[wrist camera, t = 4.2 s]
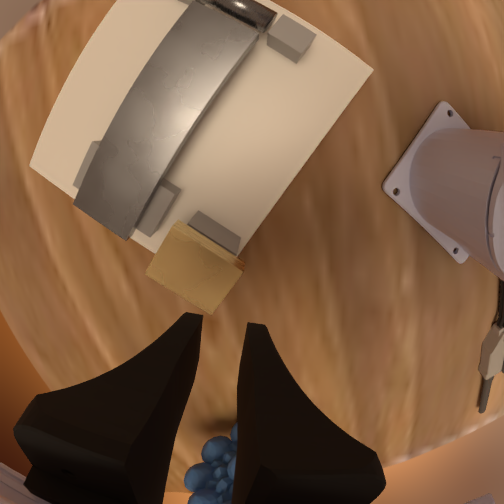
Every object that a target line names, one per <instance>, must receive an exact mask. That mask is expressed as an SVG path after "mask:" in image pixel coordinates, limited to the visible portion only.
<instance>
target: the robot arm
mask: <svg viewBox="0 0 504 504" xmlns="http://www.w3.org/2000/svg"><path fill="white" fill-rule="evenodd" d="M448 111H449V112H450V117H449V116H448V114H447V112H448ZM382 188H383V191H384V192H385V193H386V194H387V195H388V196H390V197H391V198H392V199H393V200H394V201H395V202H396V203H397V204H399V205H400V206H401V207H402V208H403V209H404V210H405V211H406V212H407V213H408V214H409V215H410V216H412V217H413V218H414V219H415V220H416V221H417V222H418V223H419V224H420V225H421V226H422V227H423V228H424V229H425V230H426V231H427V232H428V233H429V234H430V235H431V236H432V237H433V238H434V239H435V240H436V241H437V242H438V243H439V244H440V245H441V246H442V247H443V248H444V249H445V250H446V251H447V252H448V253H449V254H450V255H451V256H452V257H453V258H454V259H455V260H456V261H457V262H458V263H459V264H462V263H464V262H465V261H466V259H467V258H468V257H469V255H470V256H471V257H472V258H474V259H475V260H476V261H478V262H479V263H481V264H482V265H483V266H485V267H486V268H487V269H489V270H490V271H491V272H492V273H494V274H495V275H496V276H498V277H499V278H500V279H501V280H503V281H504V132H498V131H488V130H475V129H470V127H469V126H468V125H467V124H466V123H465V121H464V120H463V119H462V118H461V117H460V116H459V115H458V113H457V112H456V111H455V110H454V109H453V108H452V107H451V106H450V105H449V103H447V102H445V101H442V102H439V103H438V104H437V106H436V107H435V109H434V111H433V112H432V114H431V115H430V117H429V118H428V120H427V121H426V122H425V124H424V125H423V127H422V128H421V130H420V131H419V133H418V134H417V136H416V137H415V139H414V140H413V141H412V143H411V144H410V146H409V147H408V149H407V150H406V151H405V153H404V154H403V156H402V157H401V159H400V160H399V161H398V163H397V164H396V166H395V167H394V168H393V170H392V171H391V172H390V174H389V175H388V177H387V178H386V179H385V181H384V182H383V185H382ZM395 188H397V189H398V192H397V194H396V195H394V194H393V190H394V189H395ZM454 248H456V250H455V251H454V252H453V250H454ZM202 320H203V315H200V314H194V313H188V312H186V313H184V314H183V315H182V316H181V317H180V318H179V319H178V320H177V321H176V322H175V323H174V324H173V325H172V326H171V327H170V328H169V329H168V330H167V331H166V332H165V333H163V334H162V335H161V336H160V337H159V338H158V339H157V340H155V341H154V342H153V343H152V344H150V345H149V346H148V347H146V348H145V349H144V350H143V351H141V352H140V353H139V354H137V355H136V356H134V357H133V358H131V359H130V360H128V361H127V362H125V363H123V364H122V365H120V366H118V367H116V368H114V369H113V370H111V371H109V372H106V373H104V374H102V375H100V376H98V377H96V378H94V379H91V380H88V381H86V382H83V383H80V384H77V385H74V386H71V387H68V388H65V389H61V390H56V391H52V392H48V393H44V394H38V395H36V396H35V398H34V399H33V400H32V401H31V403H30V404H29V405H28V407H27V408H26V410H25V411H24V413H23V414H22V416H21V417H20V419H19V421H18V422H17V423H16V425H15V427H14V428H13V431H14V436H15V439H16V440H17V442H18V444H19V446H20V447H21V449H22V450H23V452H24V453H25V455H26V456H27V458H28V459H29V461H30V462H31V464H32V465H33V466H32V468H31V470H30V472H29V473H28V476H27V477H25V476H23V475H21V474H19V473H18V472H16V471H14V470H12V469H11V468H9V467H7V466H6V465H4V464H2V463H1V462H0V504H162V503H163V497H164V492H165V486H166V481H167V475H168V470H169V465H170V460H171V455H172V451H173V446H174V441H175V437H176V433H177V430H178V427H179V424H180V421H181V418H182V415H183V412H184V409H185V406H186V403H187V401H188V398H189V395H190V392H191V389H192V386H193V383H194V380H195V375H196V370H197V366H198V361H199V353H200V342H201V331H202ZM385 486H386V480H385V476H384V473H383V469H382V466H381V463H380V461H379V459H378V456H377V454H376V452H375V451H373V450H372V449H370V448H368V447H367V446H365V445H364V444H362V443H360V442H359V441H357V440H356V439H354V438H353V437H351V436H350V435H348V434H347V433H346V432H345V431H343V430H342V429H341V428H339V427H338V426H337V425H336V424H334V423H333V422H332V421H331V420H330V419H329V418H328V417H327V416H326V415H325V414H323V413H322V412H321V411H320V410H319V409H318V408H317V407H316V406H315V405H314V404H313V403H312V401H311V400H310V399H309V398H308V397H307V396H306V394H305V393H304V392H303V391H302V389H301V388H300V387H299V385H298V384H297V383H296V381H295V380H294V378H293V377H292V375H291V374H290V372H289V371H288V369H287V368H286V366H285V364H284V362H283V361H282V359H281V357H280V355H279V353H278V352H277V350H276V348H275V345H274V343H273V341H272V339H271V337H270V334H269V332H268V329H267V327H266V326H265V325H263V324H256V323H249V322H248V324H247V329H246V334H245V340H244V345H243V350H242V356H241V361H240V367H239V376H238V384H237V453H236V463H235V473H234V482H233V492H232V500H231V504H370V503H371V502H372V501H373V500H375V499H376V498H377V497H378V496H379V495H380V494H381V492H382V491H383V490H384V488H385ZM465 504H495V502H494V499H493V497H492V495H491V494H490V493H488V494H486V495H484V496H481V497H479V498H476V499H474V500H471V501H469V502H467V503H465Z"/></svg>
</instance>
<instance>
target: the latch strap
mask: <svg viewBox="0 0 504 504" xmlns="http://www.w3.org/2000/svg"><path fill="white" fill-rule="evenodd" d="M199 1H201V2H203V3H205V4H207V5H209V6H212V7H214V8H216V9H218V10H220V11H222V12H224V13H226V14H228V15H230V16H232V17H234V18H236V19H238V20H240V21H242V22H244V23H246V24H247V25H249V26H251V27H253V28H255V29H256V30H258V31H260V32H262V33H264V32H266V31H267V30H268V29H269V27H270V26H271V25H272V24H273V22H274V21H275V19H276V17H277V15H278V13H277V12H275V11H273V10H272V9H270V8H268V7H266V6H264V5H262V4H261V3H259V2H257V1H255V0H199ZM258 40H259V33H257V32H255V31H254V30H252V29H250V28H248V27H246V26H244V25H243V24H241V23H239V22H237V21H235V20H233V19H231V18H229V17H227V16H225V15H223V14H221V13H219V12H217V11H215V10H213V9H211V8H209V7H206V6H204V5H202V4H200V3H198V2H195V1H192V3H191V4H190V5H189V6H188V7H187V9H186V10H185V11H184V12H183V14H182V15H181V16H180V17H179V19H178V20H177V21H176V22H175V24H174V25H173V26H172V28H171V29H170V30H169V32H168V33H167V34H166V36H165V37H164V39H163V40H162V41H161V43H160V44H159V46H158V47H157V48H156V50H155V51H154V53H153V54H152V56H151V57H150V59H149V60H148V62H147V63H146V65H145V66H144V68H143V69H142V71H141V72H140V74H139V75H138V77H137V79H136V80H135V82H134V83H133V85H132V87H131V88H130V90H129V92H128V93H127V95H126V97H125V98H124V100H123V102H122V103H121V105H120V107H119V109H118V110H117V112H116V114H115V116H114V118H113V120H112V121H111V123H110V125H109V127H108V129H107V131H106V133H105V135H104V137H103V139H102V141H101V143H100V145H99V147H98V149H97V151H96V153H95V155H94V157H93V159H92V161H91V163H90V165H89V168H88V170H87V172H86V174H85V176H84V179H83V181H82V183H81V186H80V188H79V190H78V193H77V195H76V198H75V200H74V203H73V204H74V205H75V206H76V207H78V208H79V209H81V210H82V211H83V212H85V213H86V214H88V215H89V216H90V217H92V218H93V219H95V220H96V221H98V222H99V223H101V224H102V225H103V226H105V227H106V228H108V229H109V230H111V231H112V232H114V233H115V234H117V235H118V236H120V237H121V238H122V239H124V240H125V241H127V240H128V239H129V238H130V237H131V236H132V235H133V234H134V232H135V230H136V228H137V226H138V224H139V222H140V220H141V218H142V216H143V214H144V213H145V211H146V209H147V207H148V205H149V203H150V202H151V200H152V198H153V196H154V194H155V193H156V191H157V189H158V187H159V186H160V184H161V182H162V181H163V179H164V177H165V175H166V174H167V172H168V170H169V169H170V167H171V165H172V164H173V162H174V160H175V159H176V157H177V155H178V154H179V152H180V151H181V149H182V147H183V146H184V144H185V143H186V141H187V139H188V138H189V136H190V135H191V133H192V132H193V130H194V129H195V127H196V125H197V124H198V122H199V121H200V119H201V118H202V116H203V115H204V113H205V112H206V110H207V109H208V107H209V106H210V105H211V103H212V102H213V100H214V99H215V97H216V96H217V94H218V93H219V92H220V90H221V89H222V87H223V86H224V85H225V83H226V82H227V80H228V79H229V78H230V76H231V75H232V74H233V72H234V71H235V70H236V68H237V67H238V66H239V64H240V63H241V62H242V60H243V59H244V58H245V56H246V55H247V54H248V52H249V51H250V50H251V49H252V47H253V46H254V45H255V44H256V42H257V41H258Z"/></svg>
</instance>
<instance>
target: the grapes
mask: <svg viewBox="0 0 504 504" xmlns="http://www.w3.org/2000/svg"><path fill="white" fill-rule="evenodd" d="M230 436H231V440H232V441H231V440H230V439H229V438H228V437H225V436H217V437H213V438H211V439H210V440H208V441H207V442H206V443H205V444H204V446H203V449H202V452H201V455H202V459H203V461H204V462H203V463H199V464H195V465H193V466H192V467H190V468H189V469H188V471H187V472H186V474H185V478H184V483H185V487H186V488H187V489H188V490H190V491H191V492H194V493H193V494H192V495H191V496H190V497H189V500H188V504H231V500H232V492H233V482H234V473H235V463H236V453H237V423H235V425H234V426H233V427H232V430H231V434H230Z"/></svg>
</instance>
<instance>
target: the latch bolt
mask: <svg viewBox="0 0 504 504" xmlns="http://www.w3.org/2000/svg"><path fill="white" fill-rule="evenodd" d="M244 266H245V262H244V261H242V260H241V259H239V258H238V257H236V256H235V255H233V254H231V253H230V252H228V251H227V250H225V249H224V248H222V247H220V246H219V245H217V244H216V243H214V242H213V241H211V240H210V239H208V238H206V237H205V236H203V235H202V234H200V233H199V232H197V231H196V230H194V229H192V228H191V227H189V226H188V225H186V224H185V223H183V222H182V221H180V220H179V219H178V220H177V221H176V222H175V223H174V224H173V226H172V227H171V229H170V230H169V232H168V234H167V235H166V237H165V239H164V240H163V242H162V244H161V246H160V247H159V249H158V251H157V253H156V254H155V256H154V258H153V260H152V262H151V263H150V265H149V267H148V269H147V271H146V272H145V275H147V276H148V277H150V278H152V279H153V280H155V281H156V282H158V283H159V284H161V285H163V286H164V287H166V288H167V289H169V290H170V291H172V292H174V293H175V294H177V295H179V296H180V297H182V298H183V299H185V300H187V301H188V302H190V303H192V304H193V305H195V306H197V307H198V308H200V309H202V310H203V311H205V312H207V313H208V314H210V315H212V314H213V312H214V311H215V310H216V308H217V307H218V306H219V304H220V303H221V302H222V300H223V299H224V298H225V296H226V295H227V294H228V292H229V291H230V290H231V288H232V287H233V286H234V284H235V283H236V282H237V280H238V279H239V278H240V276H241V275H242V274H243V272H244Z"/></svg>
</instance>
